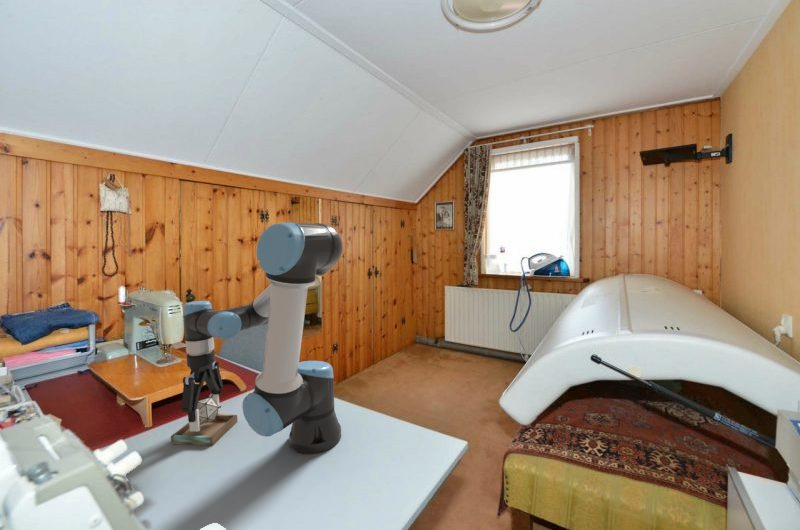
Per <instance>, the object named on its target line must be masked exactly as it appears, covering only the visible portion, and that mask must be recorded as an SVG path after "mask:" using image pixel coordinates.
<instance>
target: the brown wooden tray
mask: <svg viewBox="0 0 800 530" xmlns="http://www.w3.org/2000/svg"><path fill="white" fill-rule="evenodd" d="M215 420H216V422H214V421H211V422H208V423H205V424H201V425H200V431H198V432H197V431H190V426H189V422H188V423H186V424H185V425H183V426H182V427H181V428H179V429H178V430H177V431H175V433H173V434H172V435H171V436H170V442H171V445H187V446H189V445H191V446H215V444H216V443H218V442H219V440H220V439H222V438H223V436H224V435H226V434H227V432H229V431H230V430H231V429H232V428H233V427H234V426H235V425H236V424H237V423H238V414H219V415H217V414H216V417H215Z"/></svg>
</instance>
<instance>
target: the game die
mask: <svg viewBox="0 0 800 530" xmlns="http://www.w3.org/2000/svg"><path fill="white" fill-rule="evenodd" d="M212 397H213V395H211V397H210V398H209V397H208V398H203V399H200V400H198V404H197V408H196V409H199V422H200V425H201V424H205V423H208V422H211V421H214V422H216V420H215V417H216V414H217V411H218V409H219V408H220V409H221V408H222V405H221V406H220V405H219V407H218V405H217V404H216V403H215V401H214V400H213V399H212Z"/></svg>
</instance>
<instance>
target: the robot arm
mask: <svg viewBox="0 0 800 530" xmlns="http://www.w3.org/2000/svg"><path fill="white" fill-rule="evenodd" d="M343 249H344V248H343V241H342V238H341V235H340V234H339V233H338V231H337V230H335V228H333V227H332V226H330V225H328V224H326V223H319V222H317V223H314V222H313V223H309V222H294V221H293V222H290V221H287V222H278V223H273V224H271V225H269V226H268V227H266V229H264V231H262V233H261V235H260V236H259V239H258V241H257V244H256V260H257V261H259V262H258V266H259V267H260V268H261V269H262V271H263V272H265V278H266V280H267V281H268V282H269V283H270V284H269V285H268V286H267V287H266V288H265V289H264V290H263V291H262V292H261V293H260V294H258V296H257V297H256V298H255V299H254V300H252V301H251V302H250V303H248V304H245V305H244V304H243V305H241V306H236V307H231V308H227V309H220V310H215V309H214V310H213V307H212V303H211V302H210V301H209V300H196V301H194V300H193V301H189V302H186V303H184V305H183V306H182V311H183V313H182V319H183V331H184V338H185V339H184V340H185V352H186V355H185V357H186V366H187V367H188V368H189V369H190V372H189V375H188V376H186V377H185V376H184V377H182V383H183V388H182V400H181V413H187V420H188V423H189V426H190V431H197V432H198V431H200V422H199V409H196V408H197V404H198V401H199V399H200V394H201V390H202V388H203V387H204V383H205V384H206V386H207V388H208V390H209V392H210V394H209V396H208V398H210V397H211V395H213V397H212V399H213V400H214V401H215V403H216V404H217V405H218V407H219V406H220V394H222V393H223V389H224V384H223V381H222V380H223V379H222V376H221V375H222V374H221V372H220V371H221V370H220V363H219V361H216V355H215V353H216V352H215V350H214V349H215V339H221V340H222V339H223V340H224V339H225V340H228V339H232V338H234V337H236V335H238V334H239V332H243V331H246V330H250V329H254V328H258V327H261V326H263V327H264V326H266V336H265V345H264V356H263V365H262V366H263V367H262V371H261V372H260V373H259V374H257V376H255V381H254V389H253V390H254V391H253V392H249V393H248V394H247V395H246V396H245V397H244V398H243V400H242V405H241V407H242V413H243V416H244V418H245V421H246V422H247V424H248V426H249V427H250V428H251V430H252V431H253V432H254V433H256V434H257V435H259V436H260V437H265V438H266V437H272V436H273V435H275V434H277V433H280V432H282V431H283V430H284V429H285V428H287V427H289V426H290V425H291V427H290V431H289V435H288V438H289V439H288V440H289V441H288V442H289V446H290V449H292V450H293V451H294V452H297V453H300V454H306V455H307V454H309V455H311V454H318V453H322V452H325V451H328V450H330V449H332V448H333V447H335V446H336V445H338V444H339V442H340V440H341V439H342V427H341V424H340V423H339V420H338V417H337V414H336V411H335V385H334V383H335V382H334V381H335V380H334V378H335V376H334V369H333V366H332V365H331V364H330V363H328V362H326V361H322V360H321V361H320V360H306V361H303V360H302V361H300V357H301V356H300V355H301V350H302V349H301V348H302V347H301V346H302V338H303V331H304V325H305V323H304V322H305V315H306V307H307V298H308V289H309V287H310V286H311V285H313V284H314V283H315V282H316V277H317V276H318V277H319V276H324V275H325V274H327V273H328V272H329V271H330V270H331V269H332V268H333V267H335V265H336V264H337V263H338V262H339V260H340V258H341V257H342V254H343ZM214 338H215V339H214ZM220 409H221V408H219V409H218V411H217V415H219V414H220V413H221V410H220Z"/></svg>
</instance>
